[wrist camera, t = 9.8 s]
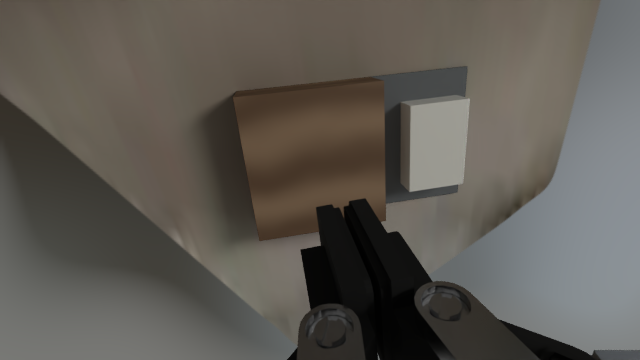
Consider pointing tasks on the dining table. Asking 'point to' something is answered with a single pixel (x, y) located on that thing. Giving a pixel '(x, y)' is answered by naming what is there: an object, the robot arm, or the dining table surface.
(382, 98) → the panel
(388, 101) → the mat
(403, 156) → the tile
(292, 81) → the dining table surface
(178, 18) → the dining table surface
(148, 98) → the dining table surface
